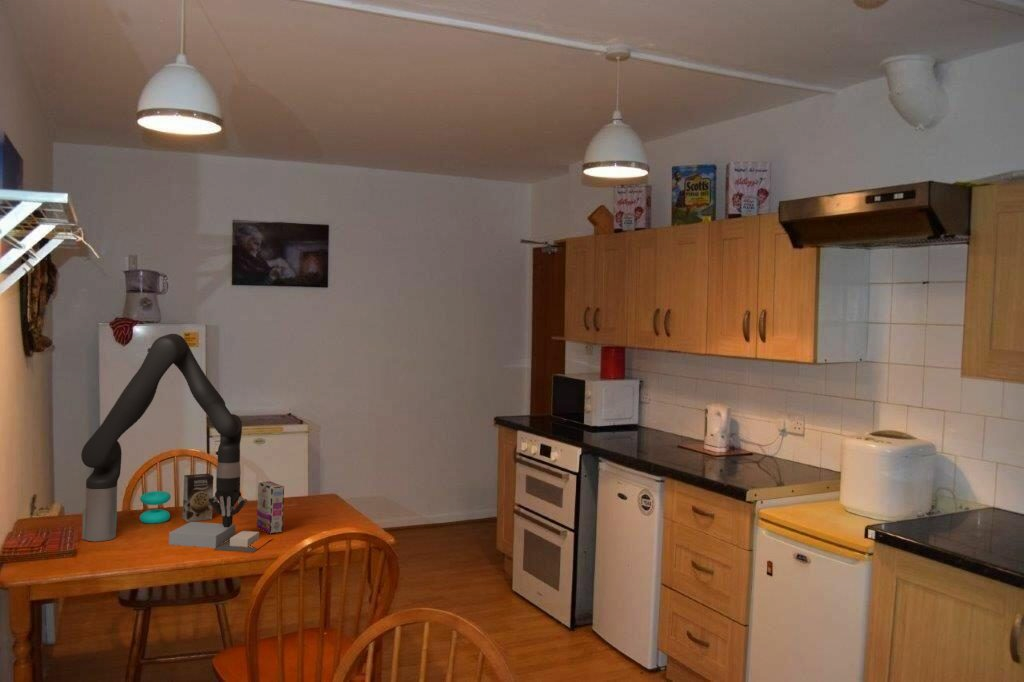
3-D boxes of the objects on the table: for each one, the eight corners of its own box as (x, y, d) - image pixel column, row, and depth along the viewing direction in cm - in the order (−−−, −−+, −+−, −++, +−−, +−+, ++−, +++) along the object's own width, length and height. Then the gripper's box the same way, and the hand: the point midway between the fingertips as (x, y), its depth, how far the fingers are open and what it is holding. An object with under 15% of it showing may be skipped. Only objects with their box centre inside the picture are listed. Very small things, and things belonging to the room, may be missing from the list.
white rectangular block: (247, 539, 258) (247, 547, 258) (259, 532, 267) (259, 539, 267) (230, 538, 258) (229, 545, 259) (242, 530, 267) (241, 538, 267)
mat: (214, 550, 254) (214, 549, 254) (236, 536, 270) (236, 535, 270) (252, 552, 253) (253, 551, 253) (273, 539, 269) (273, 538, 269)
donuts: (166, 496, 282) (136, 496, 280) (165, 524, 282) (136, 524, 280) (173, 490, 291) (145, 490, 290) (173, 517, 292) (144, 517, 290)
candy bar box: (283, 532, 277) (285, 486, 276) (270, 535, 274) (271, 487, 273) (269, 525, 285) (270, 480, 285) (256, 527, 282) (257, 482, 281)
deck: (168, 544, 258) (169, 532, 258) (190, 533, 272) (190, 521, 272) (215, 548, 256) (215, 535, 256) (235, 536, 270) (235, 524, 270)
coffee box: (186, 522, 285) (187, 478, 285) (182, 518, 291) (183, 474, 290) (212, 519, 291) (213, 475, 290) (207, 515, 296) (209, 472, 295)
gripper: (203, 476, 260) (202, 528, 260) (242, 478, 258) (241, 531, 259) (214, 471, 267) (213, 522, 268) (252, 473, 266) (251, 525, 266)
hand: (227, 526), depth 263 cm, fingers closed
